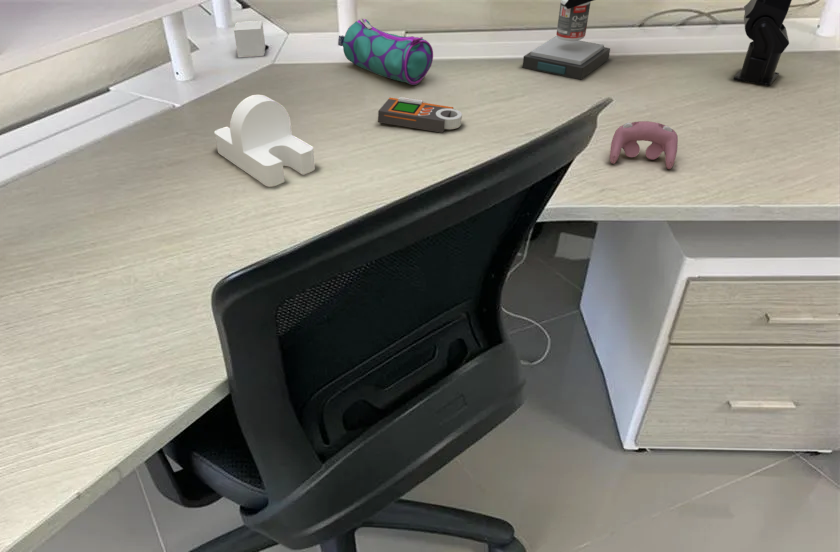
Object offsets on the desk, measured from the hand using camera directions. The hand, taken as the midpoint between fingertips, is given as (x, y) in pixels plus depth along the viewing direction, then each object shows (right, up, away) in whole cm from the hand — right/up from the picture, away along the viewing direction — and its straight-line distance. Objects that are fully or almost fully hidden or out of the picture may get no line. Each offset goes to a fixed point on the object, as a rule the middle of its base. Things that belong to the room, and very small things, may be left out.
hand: (568, 2), depth 139 cm
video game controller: (+3, -38, -26) cm, 46 cm away
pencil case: (-36, -11, +9) cm, 38 cm away
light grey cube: (-66, 0, +24) cm, 70 cm away
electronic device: (-30, -27, -10) cm, 42 cm away
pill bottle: (+2, -5, +4) cm, 7 cm away
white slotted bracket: (-58, -36, -18) cm, 71 cm away
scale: (+2, -9, +7) cm, 12 cm away
